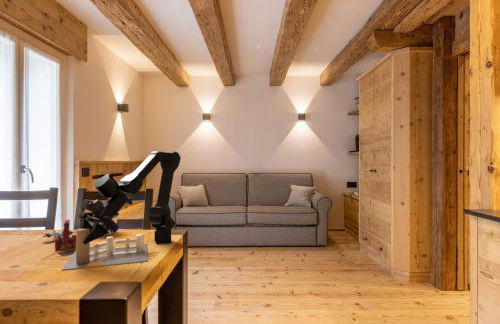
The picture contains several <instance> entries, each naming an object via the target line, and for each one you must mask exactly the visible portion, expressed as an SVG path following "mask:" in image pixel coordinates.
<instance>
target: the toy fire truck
mask: <svg viewBox="0 0 500 324" xmlns="http://www.w3.org/2000/svg"><path fill="white" fill-rule="evenodd" d="M70 222H71V221H70V219H66V220H65V221H64V223H63V230H64V231H63V230H62V231H63V232H61V233H62V236H58V237H56V238H55V240H54V250H60V249H61V248H68V247H69V245H70V248H71V249H73V248H76V240H75V237H76V234H71V235H70V231H71V230H70ZM70 236H71V237H70Z"/></svg>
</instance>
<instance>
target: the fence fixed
mask: <svg viewBox="0 0 500 324" xmlns="http://www.w3.org/2000/svg"><path fill="white" fill-rule="evenodd" d="M114 239H115V238H114V236H107V237H106V242H107V246H106V247H107V255H113V254H114V247H115V246H114V245H119V244H120V245H121V244H125V245H122V246H123V247H115V251H122V250H126V252H129V250H132V249H136V252H144V244H145V234H143V233H139V234H136V235H135V238H130V237H125V239H116V240H114ZM114 242H115V243H114ZM131 243H135V244H133V245H134V246H129V245H130V244H131Z"/></svg>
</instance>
